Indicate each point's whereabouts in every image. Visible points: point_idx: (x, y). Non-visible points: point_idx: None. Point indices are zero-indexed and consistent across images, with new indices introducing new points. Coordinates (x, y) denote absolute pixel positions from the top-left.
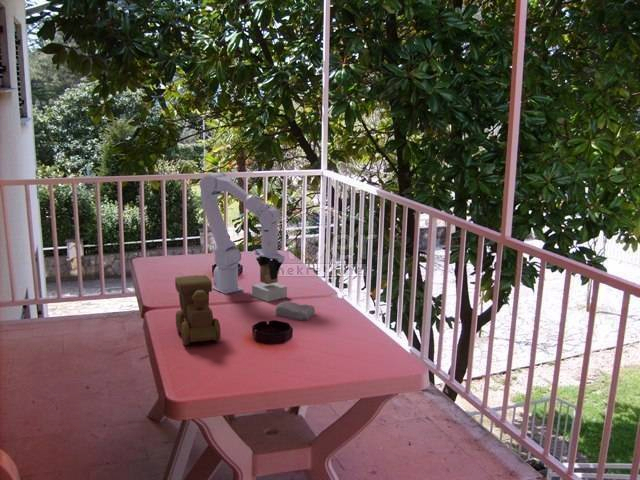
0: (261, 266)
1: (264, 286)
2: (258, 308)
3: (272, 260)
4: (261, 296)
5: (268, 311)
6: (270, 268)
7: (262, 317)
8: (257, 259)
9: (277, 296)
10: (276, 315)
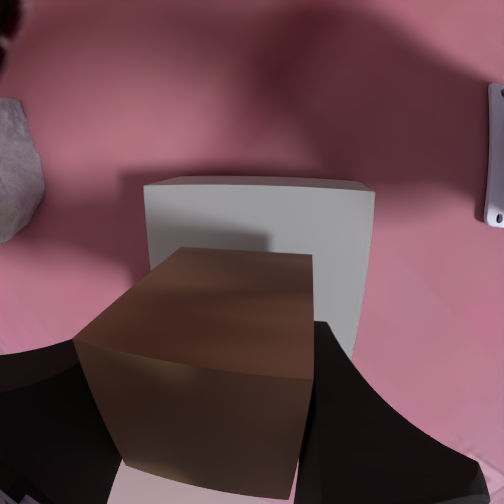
0: (265, 370)
1: None
2: (120, 64)
3: (16, 471)
4: (239, 177)
5: (63, 91)
6: (62, 356)
7: (37, 38)
8: (436, 481)
9: None
10: (17, 99)
